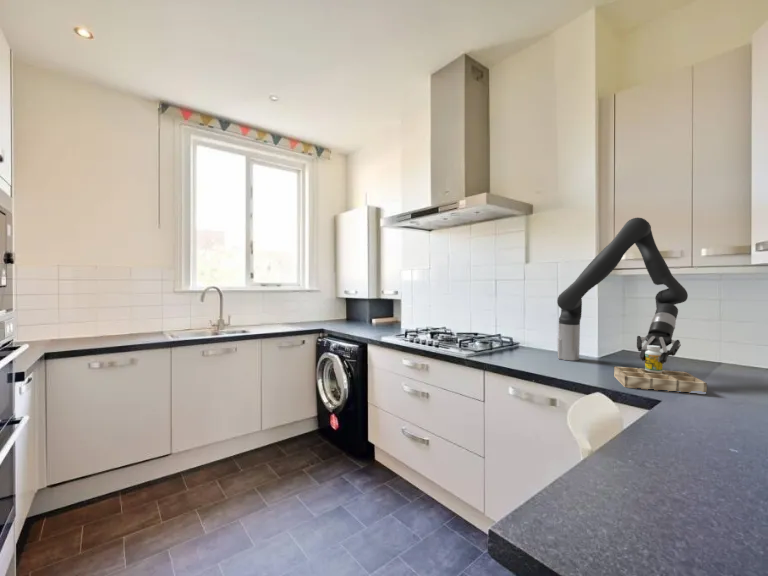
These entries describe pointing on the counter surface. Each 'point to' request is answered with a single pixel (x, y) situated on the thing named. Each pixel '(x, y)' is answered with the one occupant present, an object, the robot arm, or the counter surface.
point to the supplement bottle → (653, 359)
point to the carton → (658, 380)
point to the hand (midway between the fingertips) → (652, 360)
